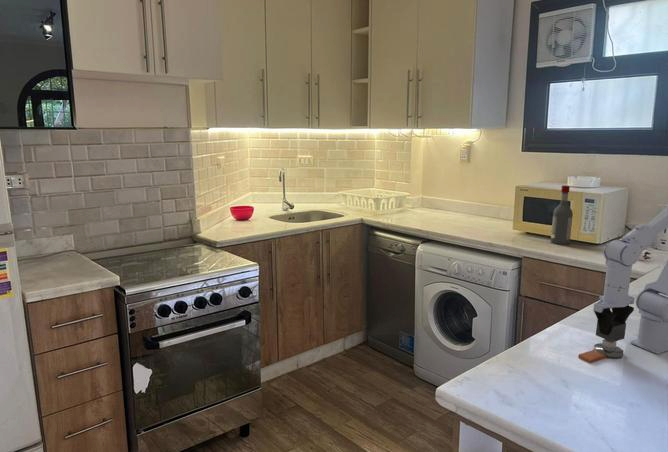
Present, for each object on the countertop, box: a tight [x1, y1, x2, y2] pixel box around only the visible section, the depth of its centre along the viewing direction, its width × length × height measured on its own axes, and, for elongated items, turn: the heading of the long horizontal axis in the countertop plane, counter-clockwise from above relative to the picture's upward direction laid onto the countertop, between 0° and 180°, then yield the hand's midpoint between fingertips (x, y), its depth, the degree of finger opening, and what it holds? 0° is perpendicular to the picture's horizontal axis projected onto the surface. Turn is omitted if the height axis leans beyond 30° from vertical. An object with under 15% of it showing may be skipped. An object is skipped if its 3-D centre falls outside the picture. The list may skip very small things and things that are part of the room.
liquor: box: [550, 185, 574, 246], centre depth 257 cm, size 9×9×30 cm
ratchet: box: [577, 338, 624, 364], centre depth 135 cm, size 14×7×4 cm, turn 117°
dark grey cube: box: [595, 319, 627, 342], centre depth 136 cm, size 5×5×4 cm
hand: (610, 331), depth 136 cm, fingers closed on dark grey cube, 5 cm apart
